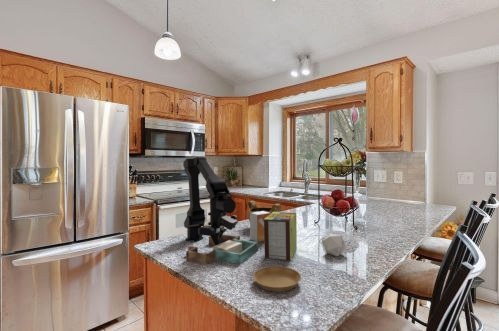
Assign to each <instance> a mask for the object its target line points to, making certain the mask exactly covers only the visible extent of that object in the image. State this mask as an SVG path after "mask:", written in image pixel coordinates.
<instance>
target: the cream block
mask: <svg viewBox="0 0 499 331" xmlns="http://www.w3.org/2000/svg"><path fill="white" fill-rule="evenodd" d="M213 250H220V251H227V252H233V253H241V252H242V251H243V249H242V243H240V242H235V241H231V240H229V241H226V242H223V243H221V244H218V245H216V246H215V245H212V251H213Z"/></svg>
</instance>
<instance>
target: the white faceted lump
mask: <svg viewBox="0 0 499 331" xmlns="http://www.w3.org/2000/svg"><path fill="white" fill-rule="evenodd" d="M321 243H322V245H323V247H324V251H325V252H326V254H328V255H332V256H335V257H339V256H340V255H341V254H342V253H343V252H344V251H345V250H346V249H347V246H346V245H347V244H346V243H345V240H344V238H343V236H342V235H340V234H334V233H332V232H330V233H329V234H327V236H326V237H325V238H323V240H322V242H321Z"/></svg>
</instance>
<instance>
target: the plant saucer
mask: <svg viewBox="0 0 499 331" xmlns="http://www.w3.org/2000/svg"><path fill="white" fill-rule="evenodd" d="M252 278H253V280H254V281H255V282H256V284H257V285H258V286H259V287H261V288H262V289H263V290H266V291H268V292H274V293H277V292H278V293H280V292H281V293H282V292H286V291H287V292H289V291H291V290H292V289H293V288H295V287H296V286H297V285H298V284H299V282H301V279H302V275H301V274H300V273H299V271H297V270H296V269H294V268H290V267H286V266H280V265H279V266H277V265H273V266H265V267H264V266H263V267H261V268H259V269H257V270H256V271H254V272H253V275H252Z"/></svg>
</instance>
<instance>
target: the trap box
mask: <svg viewBox="0 0 499 331" xmlns="http://www.w3.org/2000/svg"><path fill="white" fill-rule="evenodd" d="M229 240H231V241H235V242H240V243H242V252H240V253H233V252H227V251H220V250H213V249H212V250H211V251H209V252H208V253H204V252H199V251H198V250H199V248H198V246H193V245H188V246H187V250H186V251H185V255H186V256H185V259H186V262H193V263H197V264H203V265H210V264H211V263H213V262H215V261H219V262H220V261H221V262H225V263H233V264H238V265H242V264H243V263H244V262H245V261H247V260H249V258H251V257H253V255H255V253H256V252H258V251H259V242H256V241H253V240H251V241H250V240H245V239H244V240H242V239H241V236H239V235H232V234H231V235H230V234H224V233H223V235H222V238H221V242H220V244H221V243H223V242H226V241H229ZM208 245H210V246H211V245H212V246H215V244H214V242H213V240H212V238H211V237H210V236H208Z"/></svg>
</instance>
